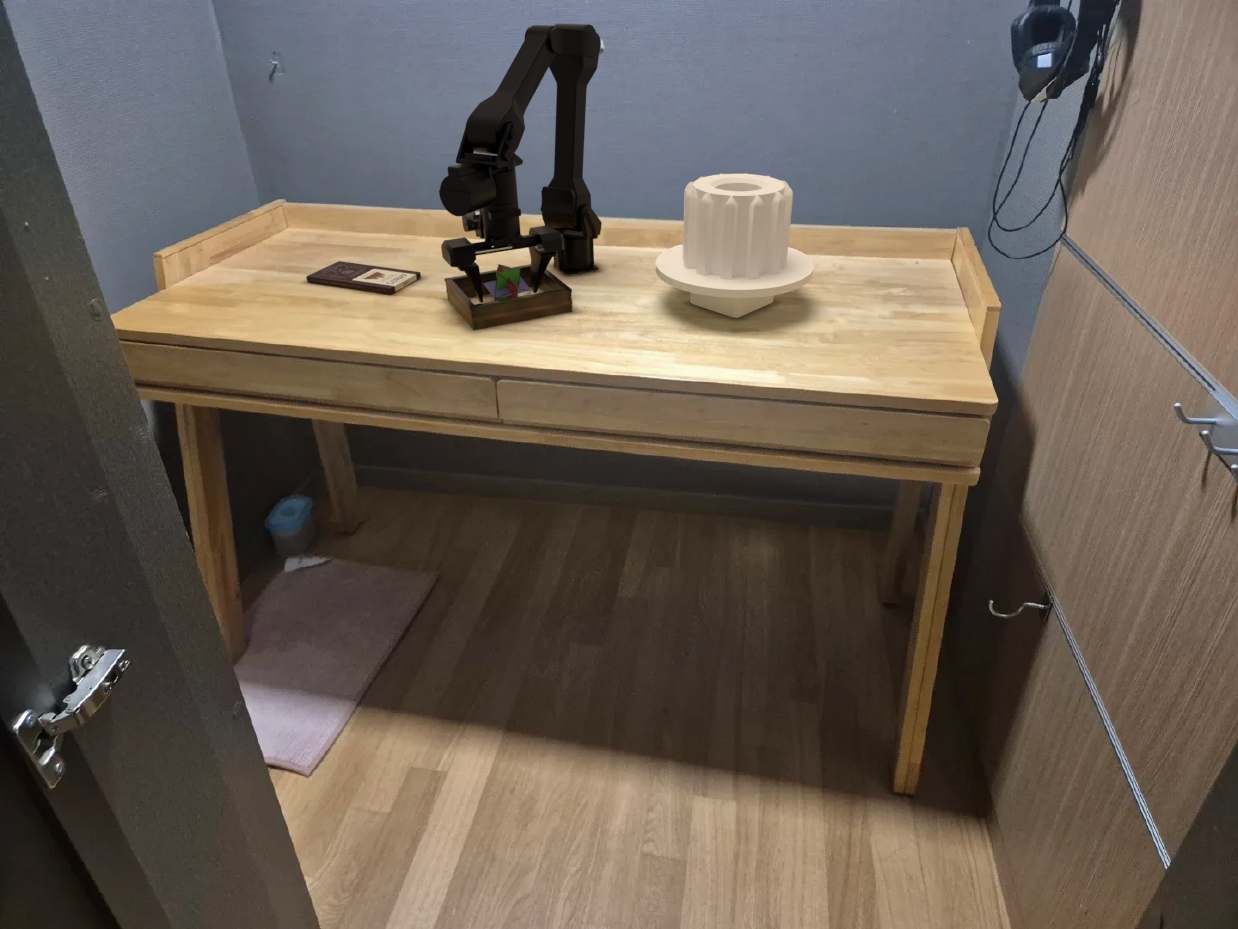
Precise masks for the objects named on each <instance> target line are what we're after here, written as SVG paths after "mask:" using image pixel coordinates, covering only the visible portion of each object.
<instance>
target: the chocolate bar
mask: <svg viewBox="0 0 1238 929" xmlns="http://www.w3.org/2000/svg"><path fill="white" fill-rule="evenodd" d="M305 277H306V278H305V279H306V282H309V283H313V284H321V285H326V286H327V285H328V286H335V287H341V288H347V289H354V290H361V291H368V292H374V293H380V294H381V293H382V294H388V295H392V294H394V293H395V292H398V291H399V290H401V289H403V288H405V287H406V286H408V285H410V284H411V283H413V282H415V281H418V280H419V279H421V278H422V274H421V271H414V270H407V269H399V268H393V267H385V266H378V265H371V264H363V263H356V262H348V261H341V260H338V261H336V262H334V263H332V264H330V265H327V266H325V267H323V268H321V269H319V270H317V271H315V272H312V273H311V274H309V275H306V276H305Z"/></svg>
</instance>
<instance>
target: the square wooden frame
mask: <svg viewBox="0 0 1238 929" xmlns="http://www.w3.org/2000/svg"><path fill="white" fill-rule="evenodd" d="M518 267H519V268H520V267H521V270H520V277H521V278H522V279H523V280H524V282H525V283H526V284H527V286H528V287H529V288H532V285H531V263H530V264H524V265H519V266H518V265H517V266H513V267H512V266H510V268H511V269H517V268H518ZM496 271H497V269H495V270H493V269H492V270H488V271H482V272H480V277H481V283H484V281H486V282H485V283H487V282H491V281H496V275H495V274H496ZM489 275H490V276H489ZM492 276H493V277H492ZM524 276H525V277H524ZM489 278H490V279H489ZM525 278H526V279H525ZM488 279H489V280H488ZM526 280H527V281H526ZM527 282H528V283H527ZM444 283H445V288H446V290H445V291H446V292H445V293H446V295H447V300H448V302H449V303H450V304H451V305H452V307H453V308H454V309H455V310H456V312H458V314H459V315H460V316H461V317H462V318H463V320H464V321H465V322H466V323H467V325H468V326H469V327H470V328H471V329H472V331H477V330H483V329H487V328H492V327H499V326H504V325H508V324H509V325H510V324H514V323H519V322H523V321H530V320H535V319H540V318H545V317H551V316H555V315H561V314H565V313H566V314H567V313H572V312H573V299H572V298H573V297H572V293H573V289H572V288H571V287H570V286H569V285H567V284H566V283H565V282H563V281H562V280H561V279H560V278H558V277H557V276H556V275H555V274H553V272H551V271H550V270H549V269H548V268H546V270H545V272H544V275H543V277H542V280H541V283H540V285H539V289H541V290H542V291H543V292H537V293H532V294H526V295H524V296H523V295H521V296H518V297H514V298H509V299H503V300H498V301H494V300H493V301H486V302H483V303H481V302H480V303H474V302H473V301H472V300H471V299H470V298H476V297H477V295H476V293H475V291H474V289H473V287H472V285H471V282H470V280H469V278H468V276H467V275H466V274H463V275H457V276H452V277H445V278H444ZM485 288H486V287H484V285H483V284H482V290H483V296H489V295H491V294H490V293H489V291H488V290H487V288H486V289H485ZM486 290H487V291H486ZM487 292H488V293H487ZM488 294H489V295H488ZM477 298H478V297H477Z"/></svg>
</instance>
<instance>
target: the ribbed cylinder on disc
mask: <svg viewBox="0 0 1238 929" xmlns="http://www.w3.org/2000/svg"><path fill="white" fill-rule="evenodd" d="M683 199H684V200H683V226H682V228H683V230H682V232H683V233H682V243H680V244H677V245H675V246H672V247H669V248H667V249H665V250H664V251H662V252H661V253H660V254H659V255H658V256H657V257H656V259H655V273H656V276H657V277H658V278H659V279H660V280H661V281H662V282H663V283H665V284H667V285H669V286H671V287H673V288H675V289H678V290H681V291H684V292H687V293H689V303H690V304H692V305H694V306H696V307H700V308H703V309H705V310H709V311H712V312H714V313H718V314H720V315H723V316H726V317H730V318H732V319H740V318H741V317H743V316H746V315H748V314H750V313H752V312H755V311H757V310H759V309H761V308H764V307H766V306H769V305H771V304H772V303H773V302H774V298H775V296H778V295H782V294H787V293H790V292H793V291H796V290H798V289H800V288H802V287H805V286H806V285H807V284H808V283H810V281H811V280H812V279H813V276H814V269H815V265H814V262H813V260H812V258H810V256H808V255H807V254H805V252H802V251H800V250H798V249H795V248H793V247H790V246H789V242H790V232H791V220H792V212H793V201H794V192H793V190H792V188H791V187H790V185H789V183H788V182H787V181H786V180H780V179H777V178H775V177H771V176H770V175H760V174H751V173H747V172H745V173H722V172H721V173H719V174H712V175H707V176H699V178H697V179H696V180H694V181H689V182H688V183H687V185H686V186H685V187H684V192H683Z"/></svg>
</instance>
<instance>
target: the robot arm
mask: <svg viewBox="0 0 1238 929" xmlns="http://www.w3.org/2000/svg"><path fill="white" fill-rule="evenodd" d="M601 47H602V41H601V36H600V34H599V33H597V31H596V29H595V27H594V26H593V25H592V24H590V23H589V24H588V23H587V24H586V23H585V24H584V23H555V24H554V25H547V24H533V25H531V26H528V28H526V30H525V33H524V41H523V42H522V43H521V46H520V47H519V49H518V51H517V53H516V55H515V56H514V58H513V61H512V62H511V64H510V65H509V67H508V69H507V71H506V72H505V74H504V76H503V78H502V80H501V82H500V83H499V86H498V87H497V89H496V90H495V91H494V93H493V94H492V95H490V96H489V97H487V98H486V99H484V100H482V101H480V103H478V104H477V106H476V107H475V108H474V109H473V111H472V112H471V113H470V115H469V116H468V118H467V120H466V123H465V126H464V132H463V134H462V138H461V141H460V144H459V148H458V151H457V154H456V158H455V164H452V165H449V166H447V169H446V170H447V176H445V177H444V178H443V179H442V181H441V183H440V187H439V190H438V193H439V194H438V196H439V199H440V201H441V204H442V205H443V207H444V208H445V210H446V211H447V213H449V214H451V215H452V216H454V217H457V218H458V217H461V222H462V227H463V228H462V229H463V231H464V232H465V233H469V232H474V233H475V236H476V238H480V239H481V240H484V241H478V242H471V241H470V240H469V239H468V238H466V237H459V238H452V239H444V240H443V242H442V243H441V246H440V248H441V249H440V250H441V257H442V259H443V260H444V261H445V262H446V263H447V264H448V265H449V266H450V267H451V268H456V269H458V271H460V272H464V274H465V275H467V276H468V278H469V280H470V282H471V285H472V287H473V289H474V291H475V293H476V295H477V300H478V301H479V303H480V304H481V303H484V295H483V290H482V283H481V277H480V273H481V272H480V266H479V264H477V262H475V261H476V260H477V256H483V255H489V254H495V253H501V252H507V251H515V250H520V249H527V248H528V251H529V255H530V264H531V285H532V287H531V290H532V291H531V292H532V294H537V293H538V290H539V289H540V287H539V285H540V283H541V280H542V277H543V275H544V272H545V270H546V269H548V266H549V265H550V262H551V260H552V258H553V262H552V266H553V267H554V268H556V269H557V270H558V271H559V272H561V273H562V274H563V275H565V276H571V275H576V274H581V273H582V274H583V273H588V272H594V271H598V270H599V267H598V266H597V265H596V264H595V250H594V248H595V247H594V245H595V244H594V240H597V239H598V238H599V235H601V233H602V232H601V231H602V225H603V224H602V221H601V219H600V218H599V217H598V215H597V213H596V212H595V211H594V210H593V208H592V195H591V192H590V190H589V188H588V186H587V184H586V182H585V179H584V154H585V153H584V152H585V134H586V133H585V130H586V108H587V88H588V84H589V83H590V81H591V80H592V78H593V76H594V75H595V73H596V71H597V70H598V66H599V65H598V64H599V58H600V53H601ZM548 69H549V70H550V72H551V74H552V76H553V79H554V80H555V84H556V94H555V96H556V99H555V103H556V104H555V126H554V127H555V130H554V131H555V132H554V158H553V159H554V160H553V162H554V163H553V177H552V178H551V180H550V182H549V183H548V185H547V186H545V185H544V186H542V189H541V205H540V212H541V217H542V218H541V219H542V220H543V224H544V225H539V226H532V227H530V228H529V230H528V234H525V235H522V233H521V223H520V217H522V208H520V207H519V198H518V197H519V196H518V186H517V174H516V173H517V172H516V167H518V166H521V165H523V164H524V160H523V159H522V158H521V157H520V156H519V155H517V154H516V152H517V150H518V148H519V146H520V144H521V141H522V138H523V135H524V133H525V130H526V124H525V116H524V115H525V114H526V110H527V108H528V106H529V105H530V103H531V101H532V99H533V97H534V95H535V93H536V91H537V90H538V88H539V86H540V84H541V82H542V81H543V79H544V77H545V75H546V73H547V71H548ZM477 211H479V213H478V214H476V212H477Z"/></svg>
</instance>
